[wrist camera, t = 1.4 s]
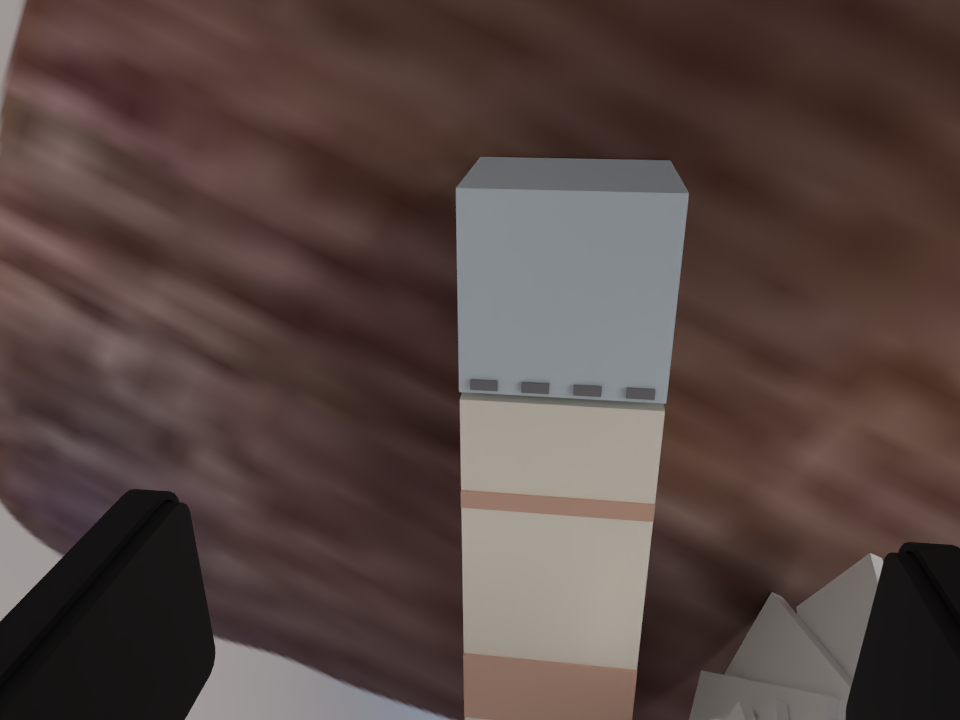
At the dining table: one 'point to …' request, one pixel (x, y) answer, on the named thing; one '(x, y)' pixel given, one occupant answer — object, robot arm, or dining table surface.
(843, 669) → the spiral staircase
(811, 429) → the dining table surface
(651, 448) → the block
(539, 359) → the grey box
